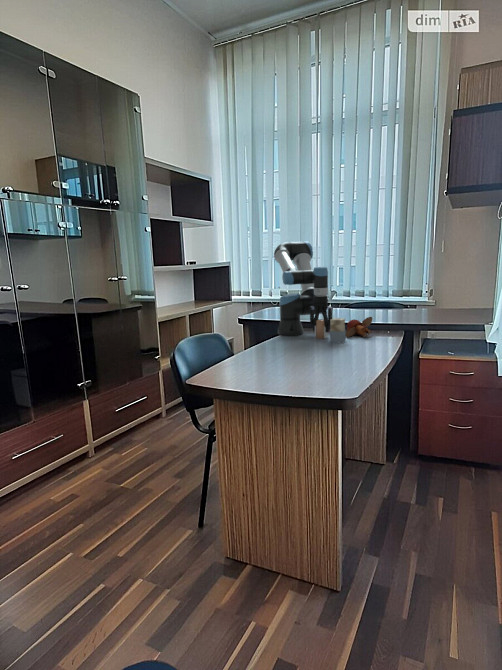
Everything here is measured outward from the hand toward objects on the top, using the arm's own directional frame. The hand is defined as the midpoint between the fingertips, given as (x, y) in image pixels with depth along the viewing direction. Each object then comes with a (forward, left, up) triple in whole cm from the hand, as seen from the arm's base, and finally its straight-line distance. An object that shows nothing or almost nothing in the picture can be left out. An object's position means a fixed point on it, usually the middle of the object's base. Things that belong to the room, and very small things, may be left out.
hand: (321, 337), depth 224 cm
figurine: (+15, +15, -1) cm, 21 cm away
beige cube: (+12, -4, +6) cm, 14 cm away
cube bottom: (+12, -4, 0) cm, 13 cm away
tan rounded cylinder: (0, 0, 0) cm, 0 cm away
